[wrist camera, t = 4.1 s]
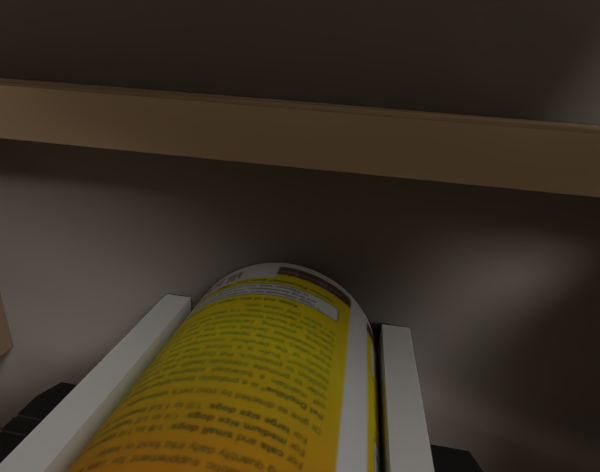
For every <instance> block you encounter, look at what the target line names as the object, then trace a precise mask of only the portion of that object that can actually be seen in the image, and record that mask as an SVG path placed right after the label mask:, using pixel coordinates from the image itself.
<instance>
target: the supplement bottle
mask: <svg viewBox="0 0 600 472" xmlns="http://www.w3.org/2000/svg"><path fill="white" fill-rule="evenodd" d="M67 472H381V464H380V438H379V404H378V381H377V358H376V347H375V340H374V336H373V332H372V329H371V326H370V324H369V322H368V319H367V317H366V315H365V314H364V312H363V310H362V309H361V307H360V306H359V305H358V303H357V302H356V300H355V299H354V298H353V297H352V296H351V295H350V294H349V293H348V292H347V291H346V290H345V289H344V288H342V287H341V286H340V285H339V284H337V283H336V282H335V281H333V280H332V279H330V278H328V277H326V276H325V275H323V274H321V273H319V272H316V271H314V270H312V269H309V268H306V267H302V266H299V265H294V264H289V263H261V264H256V265H251V266H248V267H245V268H241V269H239V270H237V271H234V272H232V273H231V274H229V275H227V276H225V277H224V278H222V279H221V280H219V281H218V282H217V283H216V284H215V285H214V286H213V287H211V288H210V289H209V291H208V292H207V293H206V294H205V295H204V296H203V297H202V299H201V300H200V301H199V302H198V304H197V305H196V306H195V307H194V309H193V310H192V311H191V313H190V314H189V315H188V317H187V318H186V319H185V320H184V322H183V323H182V324H181V325H180V327H179V328H178V329H177V331H176V332H175V333H174V334H173V336H172V337H171V338H170V340H169V341H168V342H167V343H166V345H165V346H164V347H163V348H162V350H161V351H160V352H159V354H158V355H157V356H156V357H155V359H154V360H153V361H152V362H151V364H150V365H149V366H148V368H147V369H146V370H145V371H144V373H143V374H142V375H141V377H140V378H139V379H138V380H137V382H136V383H135V384H134V385H133V387H132V388H131V389H130V390H129V392H128V393H127V394H126V396H125V397H124V398H123V399H122V401H121V402H120V403H119V405H118V406H117V407H116V408H115V410H114V411H113V412H112V414H111V415H110V416H109V418H108V419H107V420H106V421H105V423H104V424H103V425H102V427H101V428H100V429H99V430H98V432H97V433H96V434H95V436H94V437H93V438H92V439H91V441H90V442H89V443H88V445H87V446H86V447H85V449H84V450H83V451H82V452H81V454H80V455H79V456H78V458H77V459H76V460H75V461H74V463H73V464H72V465H71V467H70V468H69V469H68V470H67Z"/></svg>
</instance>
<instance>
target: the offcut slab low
mask: <svg viewBox="0 0 600 472" xmlns="http://www.w3.org/2000/svg"><path fill="white" fill-rule="evenodd" d="M11 348H13V343H12V339H11V335H10V331H9V327H8V323H7V319H6V315H5V311H4V307H3V302H2V298H1V294H0V356H2V355H3V354H4V353H6V352H7V351H8V350H10V349H11Z"/></svg>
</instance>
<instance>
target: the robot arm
mask: <svg viewBox="0 0 600 472" xmlns="http://www.w3.org/2000/svg"><path fill="white" fill-rule="evenodd" d="M190 313H191V297H185V296H178V295H171V294H166V295H165V296H164V297H163V298H162V299H161V300H160V301H159V302H158V303H157V304H156V305H155V306H154V307H153V308H152V309H151V310H150V311H149V312H148V313H147V314H146V315H145V316H144V317H143V318H142V320H141V321H140V322H139V323H138V324H137V325H136V326H135V327H134V328H133V329H132V330H131V331H130V332H129V333H128V334H127V335H126V336H125V337H124V338H123V339H122V340H121V341H120V342H119V343H118V344H117V345H116V346H115V347H114V348H113V349H112V350H111V351H110V352H109V353H108V354H107V355H106V356H105V357H104V358H103V359H102V360H101V361H100V362H99V363H98V364H97V365H96V366H95V367H94V368H93V369H92V371H91V372H90V373H89V374H88V375H87V376H86V377H85V378H84V379H83V380H82V381H81V382H80V383H79V384H78V385H74V384H68V383H62V382H61V383H59V384H58V385H56V386H54V387H52V388H50V389H49V390H47V391H45V392H43V393H42V394H40V395H38V396H37V397H35V398H34V399H33V400H32V401H31V402H30V403H29V404H28V405H27V406H26V407H25V408H24V409H23V410H22V411H20V412H19V413H18V416H17V417H16V418H15V417H14V418H13V419H12V420H11V421H10V422H9V423H8V424H6V425H5V426H4V427H3V428H2V431H1V432H0V472H67V470H68V469H69V468H70V467H71V465H72V464H73V463H74V461H75V460H76V459H77V458H78V456H79V455H80V454H81V452H82V451H83V450H84V449H85V447H86V446H87V445H88V443H89V442H90V441H91V439H92V438H93V437H94V436H95V434H96V433H97V432H98V430H99V429H100V428H101V427H102V425H103V424H104V423H105V421H106V420H107V419H108V418H109V416H110V415H111V414H112V412H113V411H114V410H115V408H116V407H117V406H118V405H119V403H120V402H121V401H122V399H123V398H124V397H125V396H126V394H127V393H128V392H129V390H130V389H131V388H132V387H133V385H134V384H135V383H136V382H137V380H138V379H139V378H140V377H141V375H142V374H143V373H144V371H145V370H146V369H147V368H148V366H149V365H150V364H151V362H152V361H153V360H154V359H155V357H156V356H157V355H158V354H159V352H160V351H161V350H162V348H163V347H164V346H165V345H166V343H167V342H168V341H169V340H170V338H171V337H172V336H173V334H174V333H175V332H176V331H177V329H178V328H179V327H180V325H181V324H182V323H183V322H184V320H185V319H186V318H187V317H188V315H189V314H190ZM377 381H378V404H379V438H380V464H381V472H483V470H482V469H481V468H480V466H479V465H478V463H477V462H476V461H475V459H474V458H473V457H472V455H471V454H470V452H469V451H465V450H459V449H453V448H448V447H442V446H436V445H430V442H429V437H428V431H427V425H426V419H425V413H424V408H423V402H422V396H421V390H420V384H419V378H418V373H417V367H416V361H415V355H414V349H413V344H412V338H411V332H410V328H405V327H398V326H391V325H384V324H382V329H381V335H380V341H379V348H378V354H377Z"/></svg>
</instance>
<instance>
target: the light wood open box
mask: <svg viewBox="0 0 600 472" xmlns="http://www.w3.org/2000/svg"><path fill="white" fill-rule="evenodd" d="M0 138H4V139H14V140H24V141H34V142H44V143H55V144H65V145H75V146H85V147H95V148H105V149H115V150H125V151H136V152H146V153H156V154H166V155H176V156H186V157H196V158H206V159H217V160H227V161H237V162H247V163H257V164H267V165H277V166H287V167H297V168H308V169H318V170H328V171H338V172H348V173H358V174H368V175H378V176H389V177H399V178H409V179H419V180H429V181H439V182H449V183H459V184H470V185H480V186H490V187H500V188H510V189H520V190H530V191H540V192H550V193H561V194H571V195H581V196H591V197H600V125H591V124H578V123H566V122H553V121H540V120H528V119H515V118H503V117H490V116H478V115H465V114H453V113H440V112H427V111H415V110H402V109H390V108H377V107H365V106H352V105H339V104H327V103H314V102H302V101H289V100H277V99H264V98H252V97H239V96H226V95H214V94H201V93H189V92H176V91H164V90H151V89H138V88H126V87H113V86H101V85H88V84H76V83H63V82H51V81H38V80H25V79H13V78H0ZM1 431H2V430H0V432H1Z"/></svg>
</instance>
